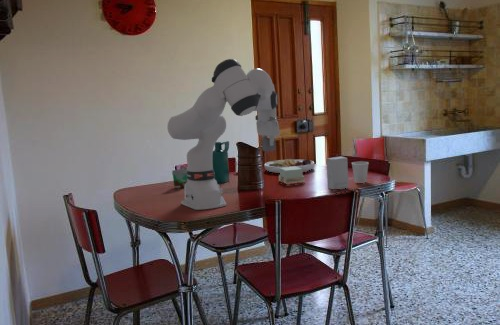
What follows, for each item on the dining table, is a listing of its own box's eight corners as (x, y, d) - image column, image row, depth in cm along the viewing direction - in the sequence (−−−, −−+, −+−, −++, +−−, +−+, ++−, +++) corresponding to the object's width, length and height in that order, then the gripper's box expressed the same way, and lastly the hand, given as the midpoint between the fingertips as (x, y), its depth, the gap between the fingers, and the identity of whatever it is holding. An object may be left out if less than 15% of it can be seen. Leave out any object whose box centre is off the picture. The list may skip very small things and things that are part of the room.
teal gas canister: (210, 182, 238) (207, 142, 235) (216, 180, 246) (214, 141, 243) (226, 183, 235) (223, 142, 232) (232, 180, 242) (230, 140, 239)
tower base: (304, 184, 224) (304, 176, 224) (287, 186, 221) (286, 178, 220) (296, 181, 234) (295, 173, 233) (278, 183, 230) (278, 175, 230)
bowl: (255, 174, 262) (254, 161, 260) (280, 166, 286) (280, 154, 285) (299, 176, 244) (299, 162, 243) (322, 168, 269) (322, 155, 268)
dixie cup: (371, 183, 215) (371, 163, 213) (354, 184, 214) (354, 164, 213) (365, 180, 223) (365, 161, 221) (349, 181, 222) (349, 162, 221)
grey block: (275, 150, 214) (275, 138, 213) (266, 151, 212) (265, 139, 211) (271, 149, 218) (271, 137, 217) (262, 150, 216) (261, 138, 216)
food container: (184, 189, 223) (183, 170, 222) (173, 189, 224) (172, 170, 223) (192, 185, 235) (191, 166, 234) (181, 185, 236) (180, 166, 235)
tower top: (302, 176, 223) (302, 168, 223) (286, 178, 221) (285, 170, 220) (295, 174, 232) (295, 166, 231) (279, 175, 229) (279, 168, 229)
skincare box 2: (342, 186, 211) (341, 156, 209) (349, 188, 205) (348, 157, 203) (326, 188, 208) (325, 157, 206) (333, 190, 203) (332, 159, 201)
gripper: (282, 116, 204) (283, 146, 206) (265, 115, 223) (266, 142, 225) (269, 117, 202) (271, 147, 204) (253, 116, 221) (255, 143, 223)
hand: (268, 145), depth 215 cm, fingers closed on grey block, 5 cm apart
